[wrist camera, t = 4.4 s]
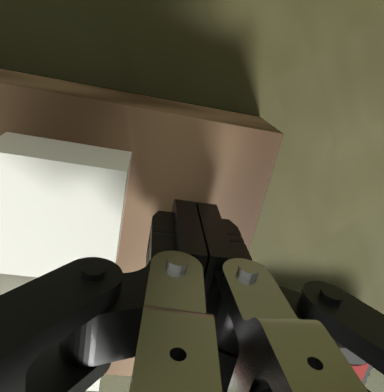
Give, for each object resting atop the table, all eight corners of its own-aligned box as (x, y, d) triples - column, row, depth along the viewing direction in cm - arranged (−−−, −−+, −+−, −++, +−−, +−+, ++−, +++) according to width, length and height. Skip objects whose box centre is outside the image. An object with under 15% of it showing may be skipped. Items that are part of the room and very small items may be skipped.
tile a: (132, 151, 12) (127, 171, 10) (118, 251, 13) (112, 285, 12) (6, 132, 11) (-23, 149, 9) (7, 238, 13) (-18, 271, 11)
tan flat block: (260, 117, 15) (283, 133, 12) (202, 333, 19) (209, 381, 17) (-77, 54, 13) (-141, 57, 10) (-54, 311, 17) (-94, 361, 15)
